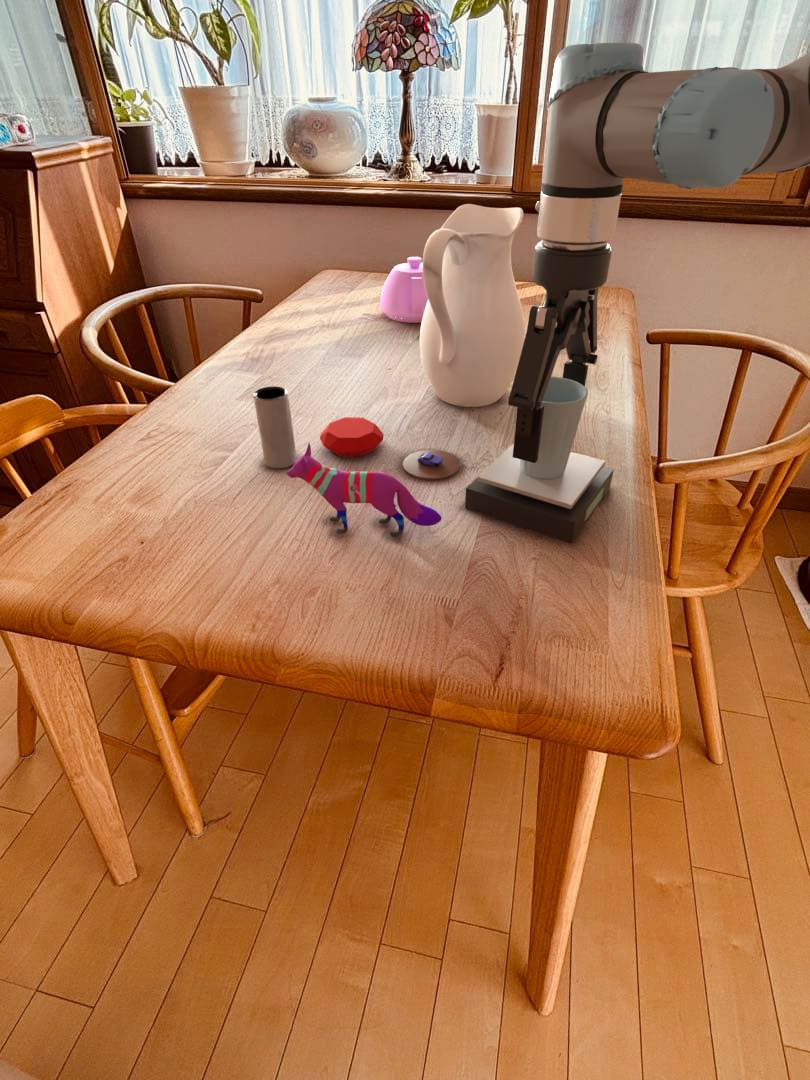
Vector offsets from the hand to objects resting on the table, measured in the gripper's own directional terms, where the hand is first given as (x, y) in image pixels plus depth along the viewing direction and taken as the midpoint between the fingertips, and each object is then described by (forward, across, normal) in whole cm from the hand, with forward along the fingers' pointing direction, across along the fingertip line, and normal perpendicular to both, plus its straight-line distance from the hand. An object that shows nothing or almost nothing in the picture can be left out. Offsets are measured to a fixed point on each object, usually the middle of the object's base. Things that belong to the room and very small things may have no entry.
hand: (548, 435), depth 74 cm
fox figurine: (+9, +17, -15) cm, 25 cm away
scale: (+9, 0, 0) cm, 9 cm away
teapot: (+9, -58, -55) cm, 81 cm away
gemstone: (+9, +1, -29) cm, 31 cm away
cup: (+5, 0, 0) cm, 5 cm away
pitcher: (+9, -21, -23) cm, 33 cm away
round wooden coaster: (+9, 0, -16) cm, 19 cm away
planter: (+9, +10, -35) cm, 38 cm away
